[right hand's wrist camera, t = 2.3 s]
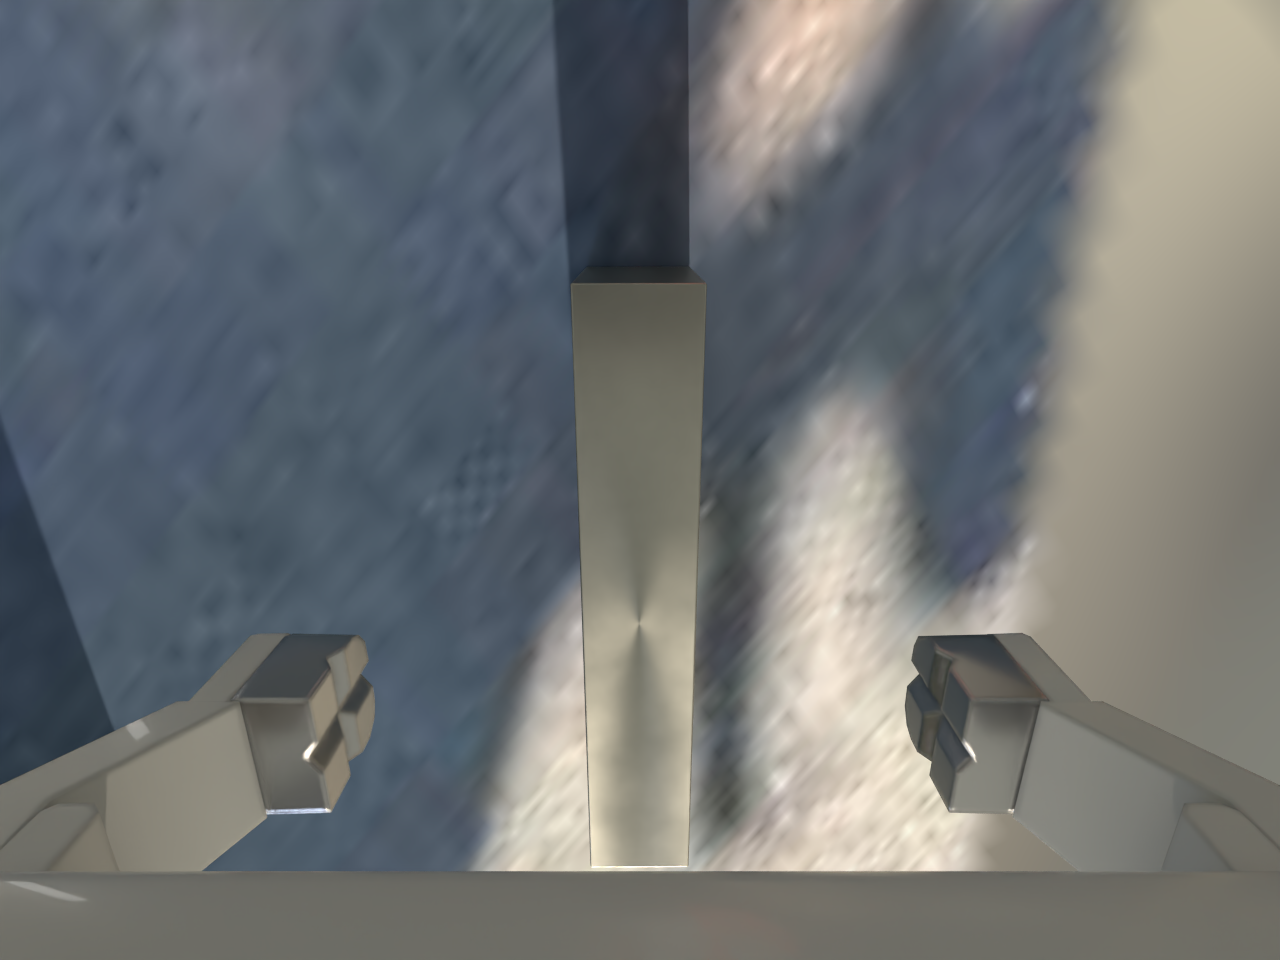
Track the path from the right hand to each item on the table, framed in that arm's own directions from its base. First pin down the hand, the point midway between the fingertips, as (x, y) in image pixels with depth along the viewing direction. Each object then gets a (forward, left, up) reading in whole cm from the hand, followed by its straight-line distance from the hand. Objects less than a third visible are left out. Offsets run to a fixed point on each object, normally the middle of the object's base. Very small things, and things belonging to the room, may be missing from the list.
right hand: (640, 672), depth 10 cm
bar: (+9, 0, -23) cm, 25 cm away
